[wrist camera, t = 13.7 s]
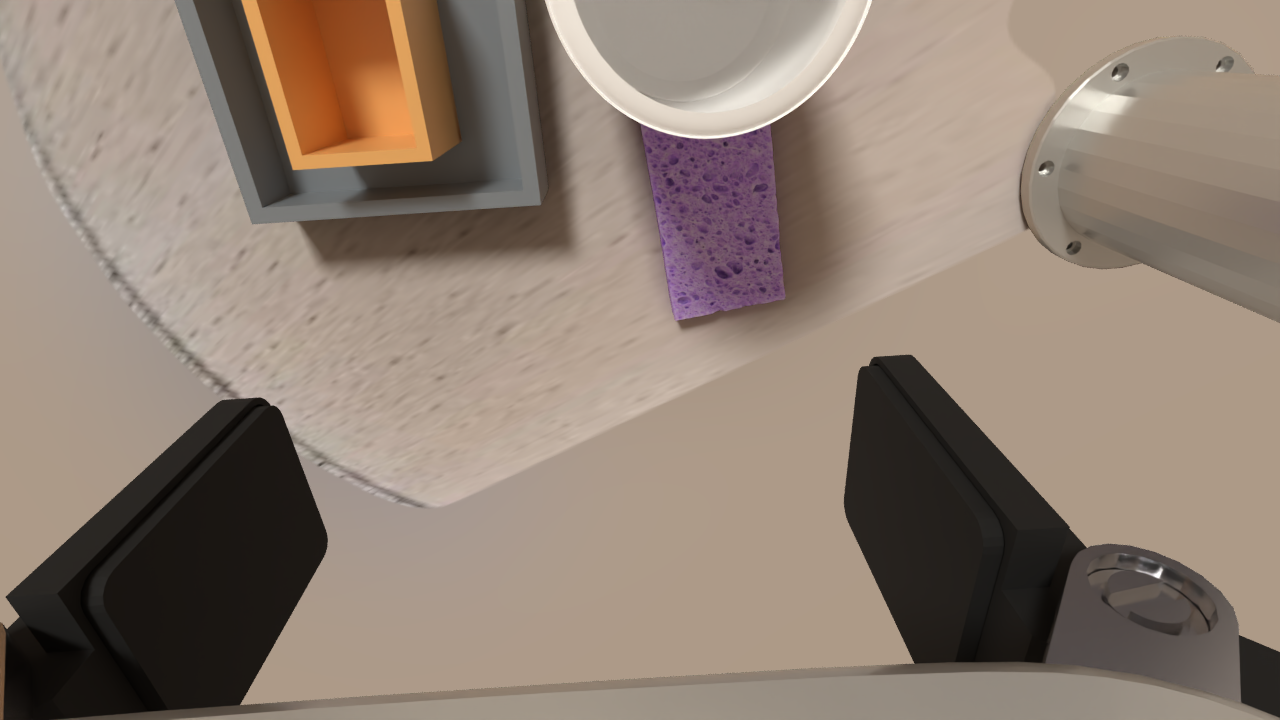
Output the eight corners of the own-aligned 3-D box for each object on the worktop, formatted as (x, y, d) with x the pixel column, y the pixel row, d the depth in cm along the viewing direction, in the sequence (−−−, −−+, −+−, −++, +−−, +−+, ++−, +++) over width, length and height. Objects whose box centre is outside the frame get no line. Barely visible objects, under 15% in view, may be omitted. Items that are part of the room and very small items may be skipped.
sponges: (671, 310, 41) (673, 321, 39) (635, 103, 35) (635, 106, 33) (780, 290, 40) (787, 301, 38) (761, 77, 34) (769, 79, 33)
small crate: (426, -57, 30) (384, -77, 25) (461, 141, 34) (432, 160, 29) (292, -48, 30) (221, -66, 25) (344, 149, 34) (292, 170, 29)
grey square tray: (508, -139, 29) (492, -162, 26) (548, 188, 36) (541, 204, 33) (186, -117, 29) (126, -138, 26) (288, 205, 36) (252, 224, 33)
